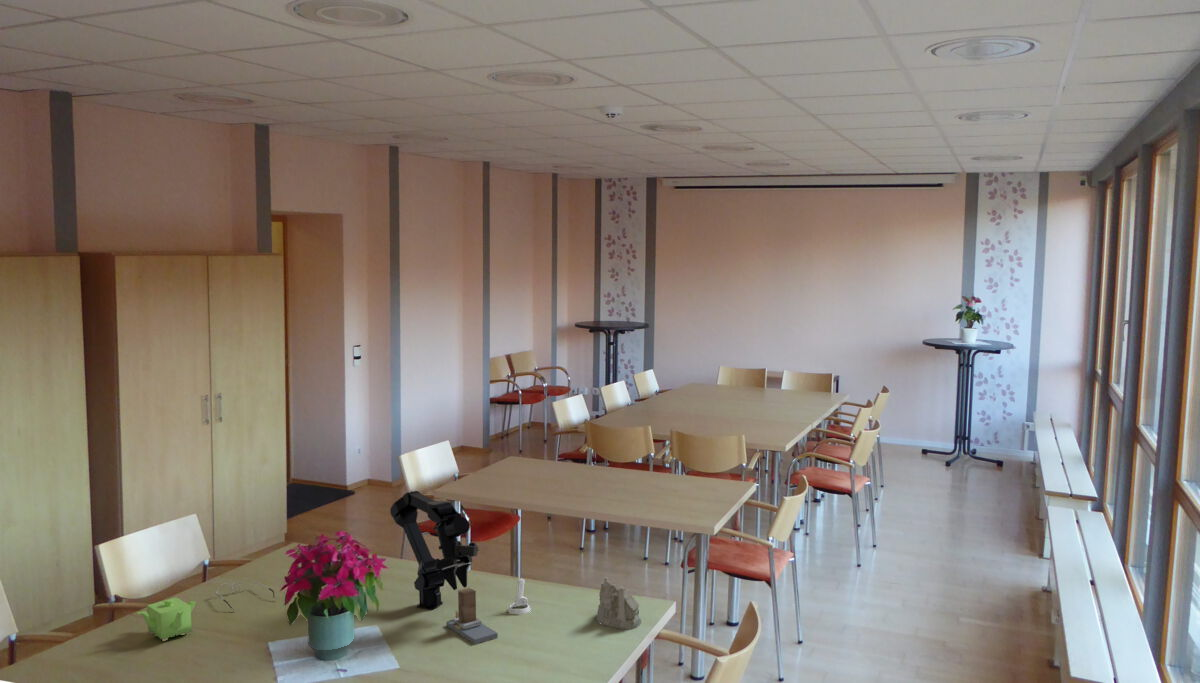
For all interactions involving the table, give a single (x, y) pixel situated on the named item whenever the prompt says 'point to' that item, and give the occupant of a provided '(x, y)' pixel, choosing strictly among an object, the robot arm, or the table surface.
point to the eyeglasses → (240, 588)
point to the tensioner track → (473, 631)
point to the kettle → (169, 617)
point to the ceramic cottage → (617, 607)
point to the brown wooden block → (467, 609)
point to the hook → (519, 600)
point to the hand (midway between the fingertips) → (460, 588)
